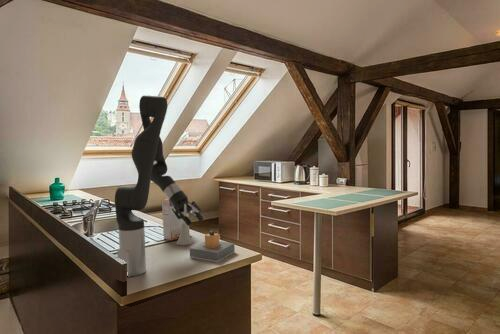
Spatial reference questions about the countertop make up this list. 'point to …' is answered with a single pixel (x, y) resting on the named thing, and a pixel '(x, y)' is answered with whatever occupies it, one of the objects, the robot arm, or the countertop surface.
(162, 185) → the robot arm
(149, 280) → the countertop surface
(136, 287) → the countertop surface
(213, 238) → the plug
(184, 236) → the flask
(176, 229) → the cracker box
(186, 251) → the countertop surface
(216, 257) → the socket block
